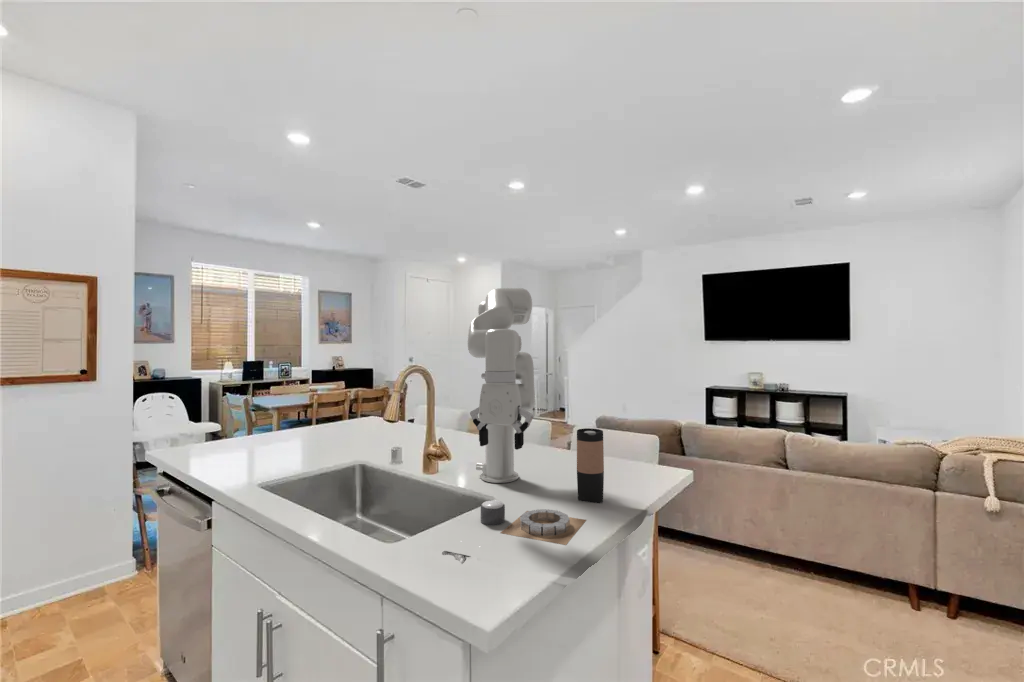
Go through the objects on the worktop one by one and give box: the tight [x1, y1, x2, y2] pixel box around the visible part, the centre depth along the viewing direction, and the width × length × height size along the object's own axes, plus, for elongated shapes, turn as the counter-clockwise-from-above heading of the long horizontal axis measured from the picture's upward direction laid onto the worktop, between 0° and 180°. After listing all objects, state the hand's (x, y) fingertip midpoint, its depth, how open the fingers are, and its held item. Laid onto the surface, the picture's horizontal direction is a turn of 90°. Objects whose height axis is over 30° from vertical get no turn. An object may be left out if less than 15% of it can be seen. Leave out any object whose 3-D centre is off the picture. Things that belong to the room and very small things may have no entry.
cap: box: [480, 500, 506, 527], centre depth 116 cm, size 6×6×5 cm
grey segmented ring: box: [519, 509, 570, 536], centre depth 112 cm, size 12×12×2 cm
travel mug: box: [576, 427, 605, 505], centre depth 134 cm, size 8×8×20 cm
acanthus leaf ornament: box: [441, 540, 482, 564], centre depth 101 cm, size 8×7×2 cm
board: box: [499, 510, 587, 546], centre depth 112 cm, size 16×16×1 cm
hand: (501, 446), depth 117 cm, fingers open, 9 cm apart
